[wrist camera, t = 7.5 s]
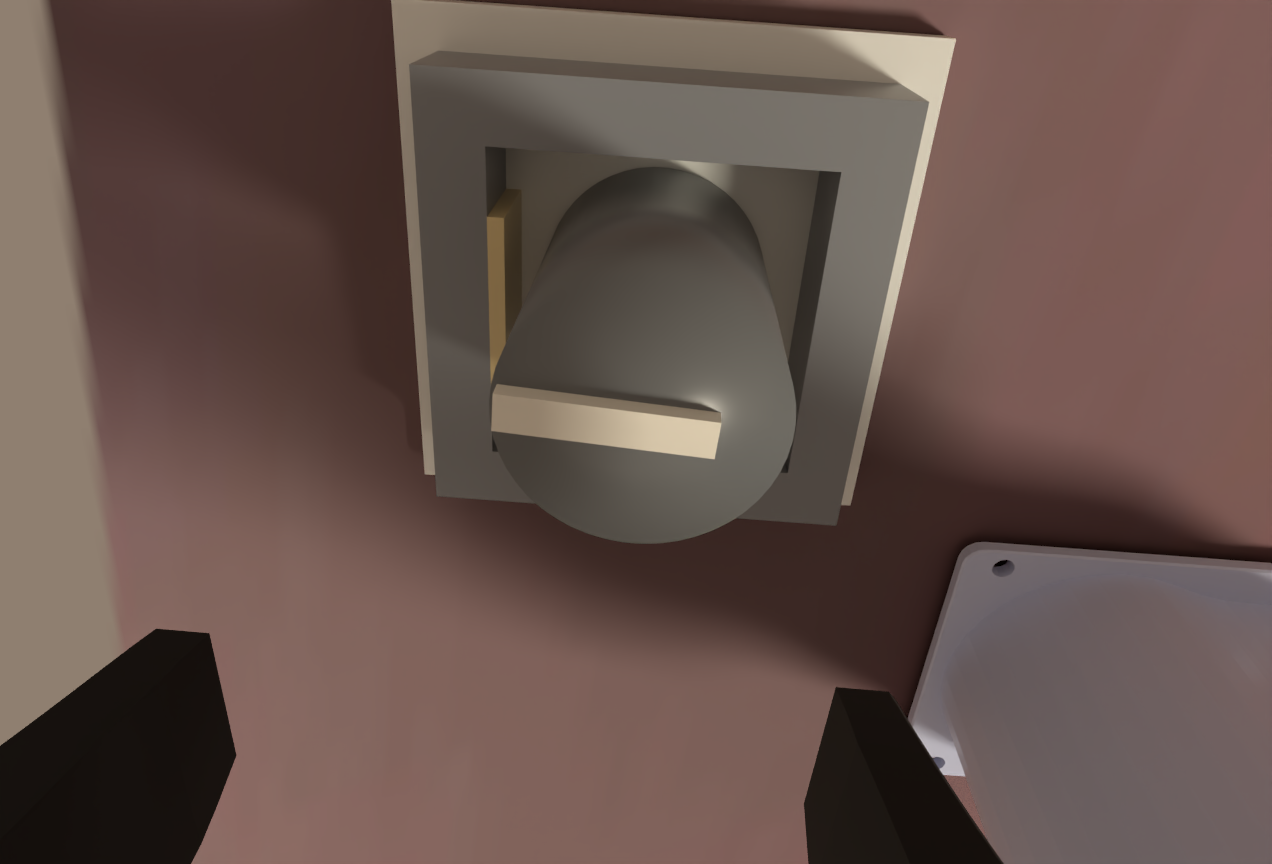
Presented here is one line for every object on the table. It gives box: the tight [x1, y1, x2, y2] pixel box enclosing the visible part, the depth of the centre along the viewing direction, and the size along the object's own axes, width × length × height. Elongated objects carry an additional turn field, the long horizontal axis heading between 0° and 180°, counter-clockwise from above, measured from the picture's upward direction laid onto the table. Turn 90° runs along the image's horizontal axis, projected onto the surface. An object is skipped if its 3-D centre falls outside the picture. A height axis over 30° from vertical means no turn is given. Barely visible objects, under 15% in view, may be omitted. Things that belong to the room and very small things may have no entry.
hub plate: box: [391, 0, 956, 526], centre depth 17 cm, size 10×10×3 cm
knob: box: [489, 167, 796, 544], centre depth 15 cm, size 4×4×6 cm
